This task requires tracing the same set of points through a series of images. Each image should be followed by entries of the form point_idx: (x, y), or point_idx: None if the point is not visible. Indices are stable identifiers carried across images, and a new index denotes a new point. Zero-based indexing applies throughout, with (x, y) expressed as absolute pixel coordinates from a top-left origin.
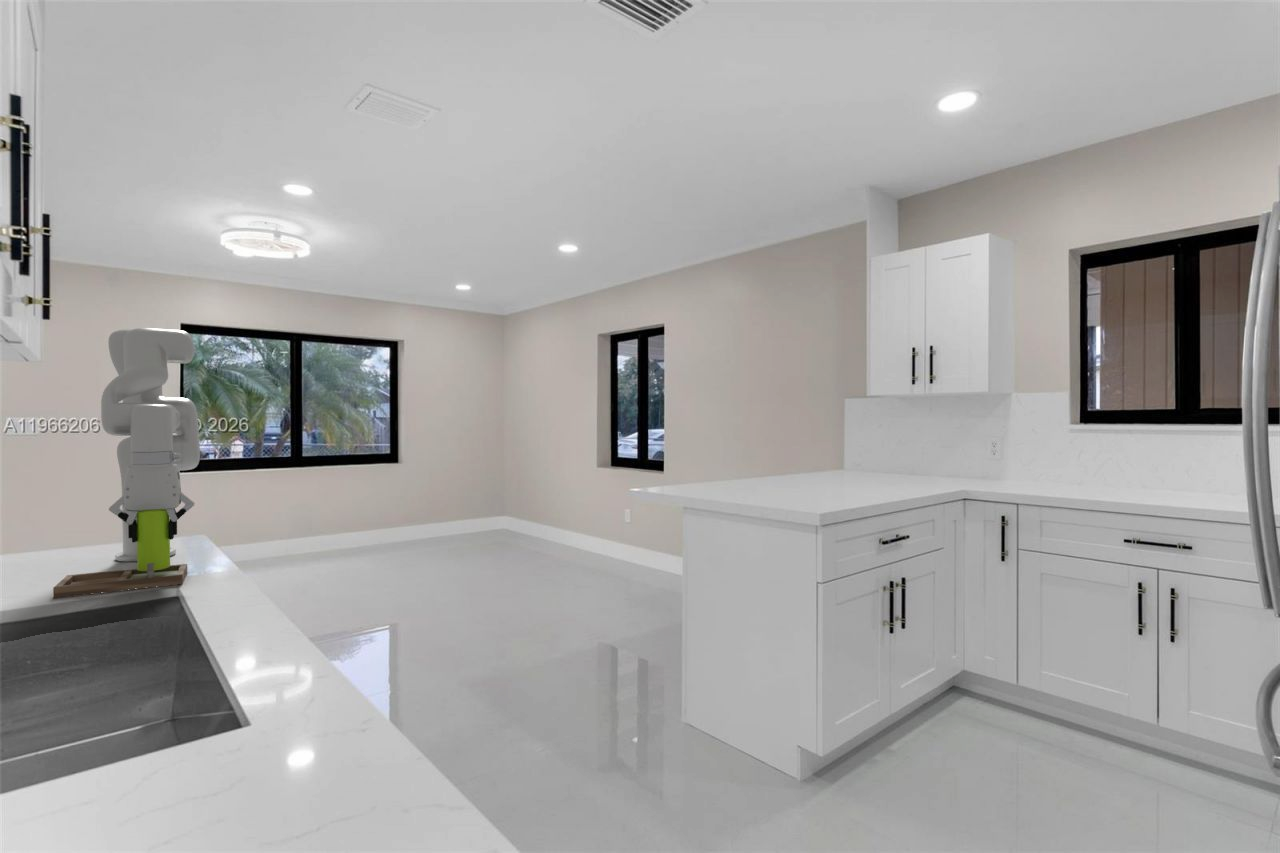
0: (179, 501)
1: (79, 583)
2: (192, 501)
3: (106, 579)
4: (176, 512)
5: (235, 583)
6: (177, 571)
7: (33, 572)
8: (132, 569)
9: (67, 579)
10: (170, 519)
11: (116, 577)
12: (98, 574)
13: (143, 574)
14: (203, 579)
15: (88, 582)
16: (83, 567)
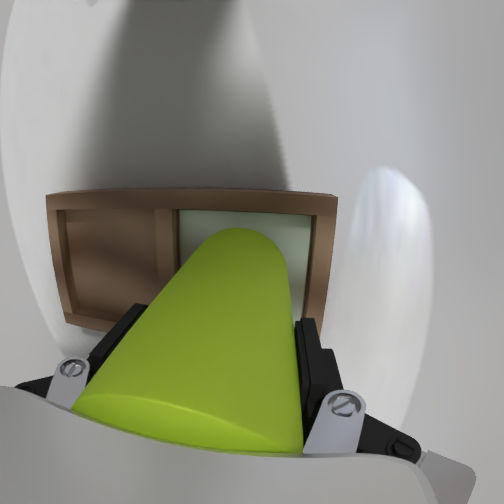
0: (426, 480)
1: (82, 242)
2: (465, 497)
3: (124, 228)
4: (355, 443)
5: (404, 374)
6: (306, 235)
7: (22, 39)
8: (171, 197)
9: (58, 251)
10: (304, 445)
11: (142, 214)
12: (98, 207)
13: (209, 225)
14: (363, 307)
15: (95, 242)
16: (81, 6)
